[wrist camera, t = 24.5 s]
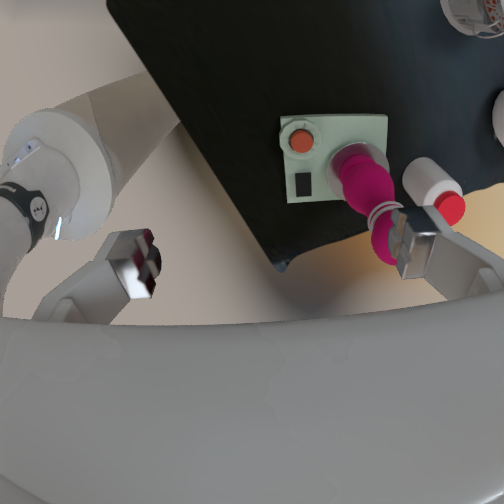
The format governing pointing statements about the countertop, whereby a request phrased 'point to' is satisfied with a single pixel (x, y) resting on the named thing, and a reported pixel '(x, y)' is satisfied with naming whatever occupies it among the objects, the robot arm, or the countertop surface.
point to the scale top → (335, 166)
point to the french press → (475, 15)
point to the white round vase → (499, 117)
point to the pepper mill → (371, 199)
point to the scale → (326, 146)
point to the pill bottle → (434, 189)
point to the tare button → (301, 141)
